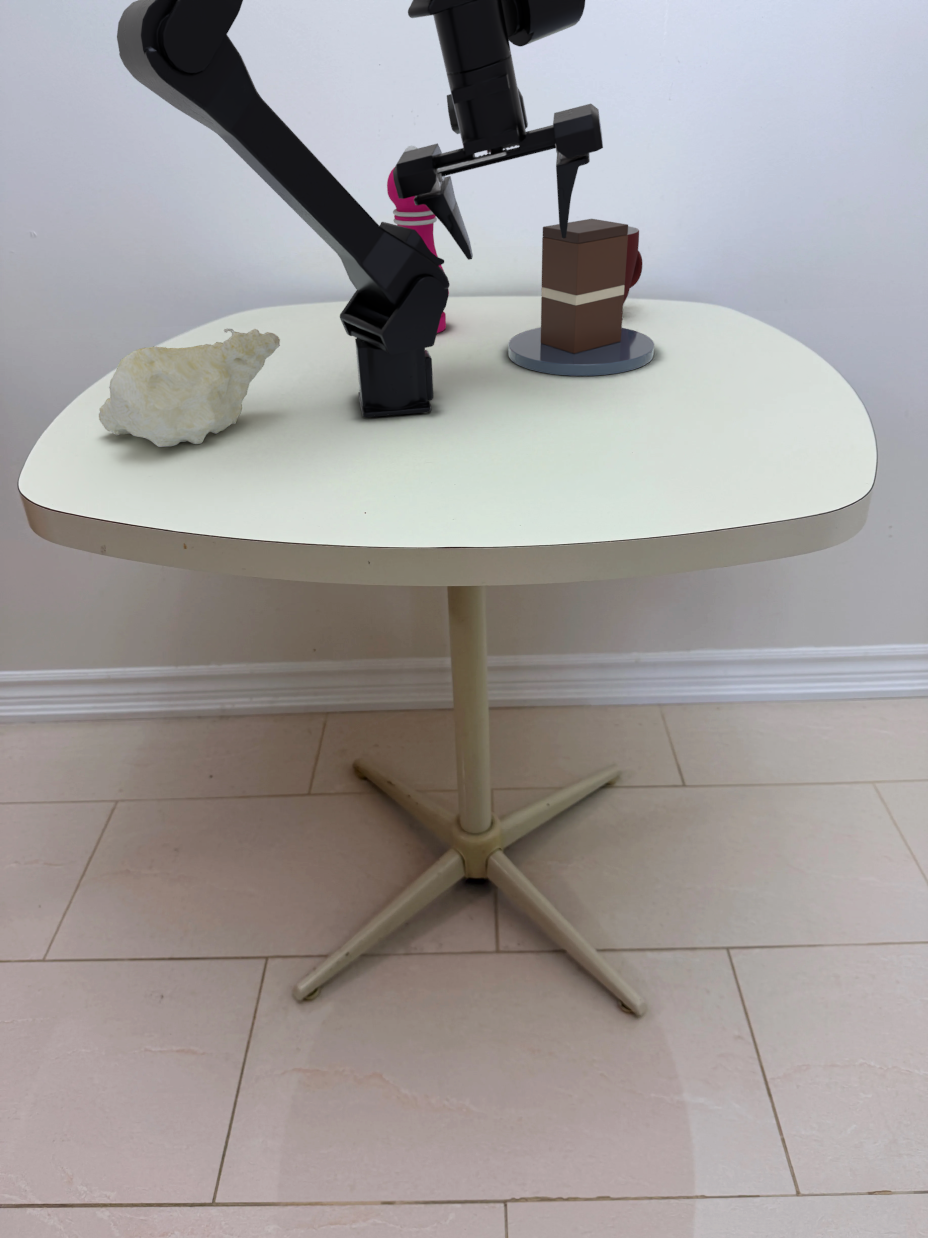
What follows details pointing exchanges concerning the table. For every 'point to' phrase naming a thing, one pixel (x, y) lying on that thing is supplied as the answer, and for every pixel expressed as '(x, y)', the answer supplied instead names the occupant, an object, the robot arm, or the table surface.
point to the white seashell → (184, 388)
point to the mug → (632, 261)
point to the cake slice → (583, 284)
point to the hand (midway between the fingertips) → (516, 247)
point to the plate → (581, 355)
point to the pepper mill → (415, 221)
